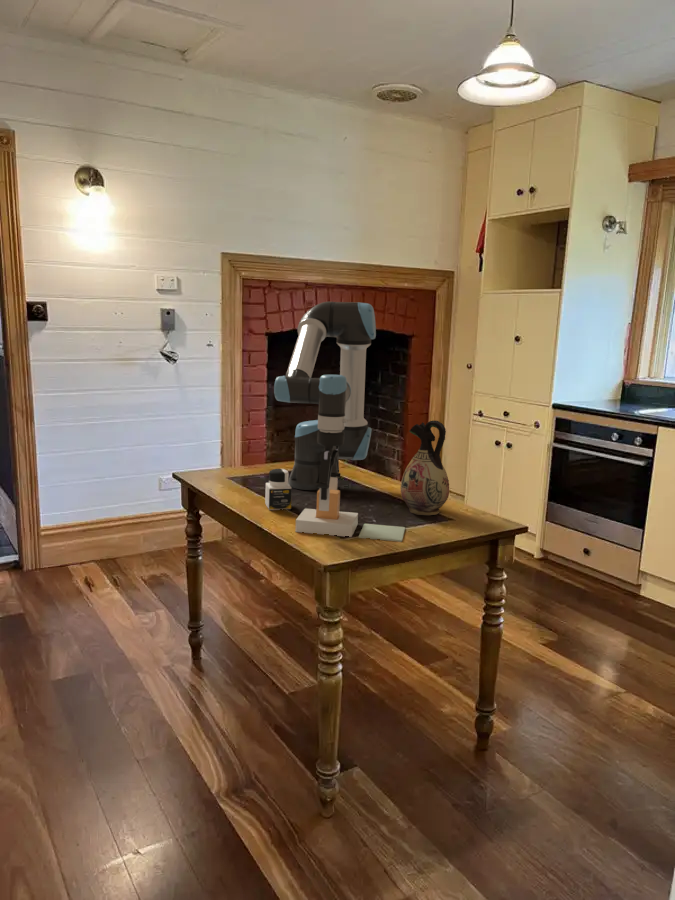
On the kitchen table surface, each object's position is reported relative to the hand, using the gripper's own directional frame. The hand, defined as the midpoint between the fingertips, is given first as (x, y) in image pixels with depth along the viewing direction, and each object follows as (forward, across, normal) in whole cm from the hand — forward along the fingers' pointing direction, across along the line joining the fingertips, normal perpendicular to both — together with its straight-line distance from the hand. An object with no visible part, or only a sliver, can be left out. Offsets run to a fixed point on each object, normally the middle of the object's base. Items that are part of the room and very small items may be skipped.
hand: (328, 504), depth 196 cm
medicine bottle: (+7, +17, +19) cm, 27 cm away
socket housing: (+7, 0, 0) cm, 7 cm away
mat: (+7, 0, -16) cm, 17 cm away
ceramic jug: (+7, +25, -27) cm, 38 cm away
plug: (+7, 0, 0) cm, 7 cm away
